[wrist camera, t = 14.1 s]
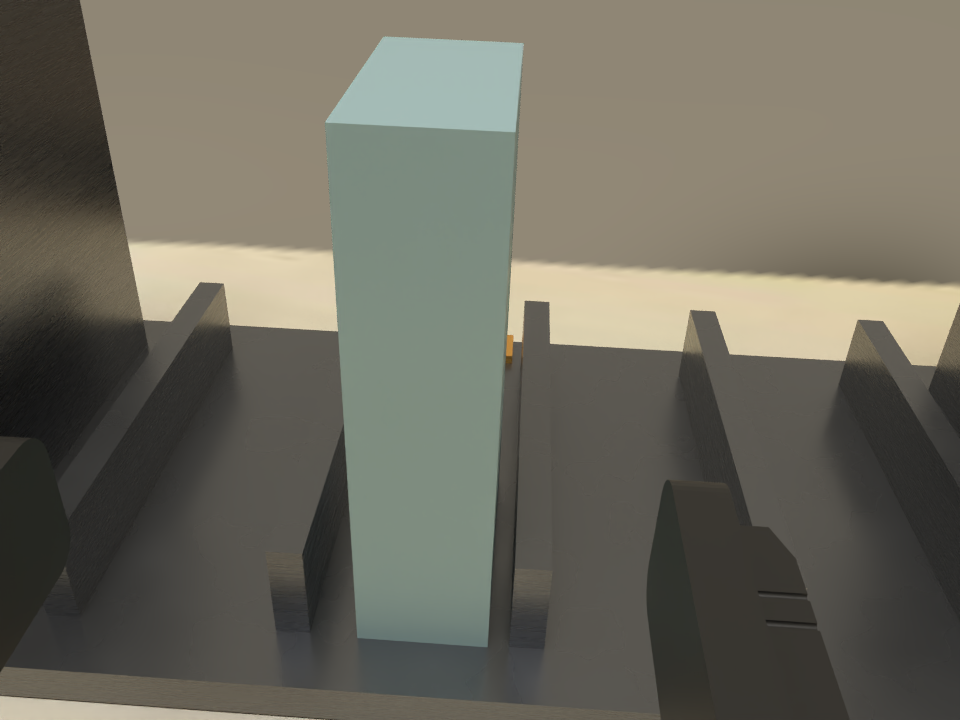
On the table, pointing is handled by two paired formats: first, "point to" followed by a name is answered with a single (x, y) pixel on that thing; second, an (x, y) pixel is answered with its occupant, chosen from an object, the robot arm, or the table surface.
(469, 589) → the tall pale blue pillar
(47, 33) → the rack
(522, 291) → the table surface
